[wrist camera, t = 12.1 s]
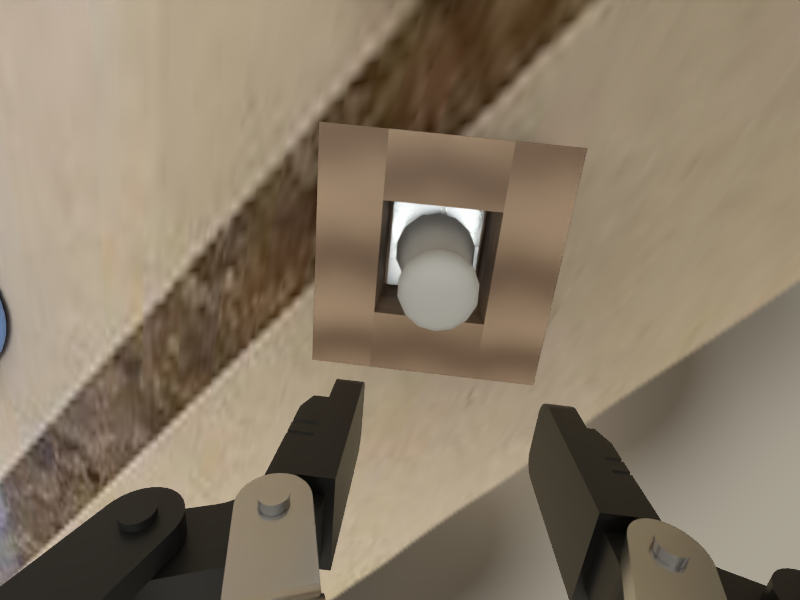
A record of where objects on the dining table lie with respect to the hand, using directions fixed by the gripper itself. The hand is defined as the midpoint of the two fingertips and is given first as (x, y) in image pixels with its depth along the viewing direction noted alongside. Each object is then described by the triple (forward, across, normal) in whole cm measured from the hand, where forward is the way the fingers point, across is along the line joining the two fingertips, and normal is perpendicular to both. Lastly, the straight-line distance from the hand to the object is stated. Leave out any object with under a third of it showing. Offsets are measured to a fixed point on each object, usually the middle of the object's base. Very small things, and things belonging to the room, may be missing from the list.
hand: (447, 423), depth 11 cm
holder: (+25, 0, 0) cm, 25 cm away
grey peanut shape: (+24, 0, 0) cm, 24 cm away
